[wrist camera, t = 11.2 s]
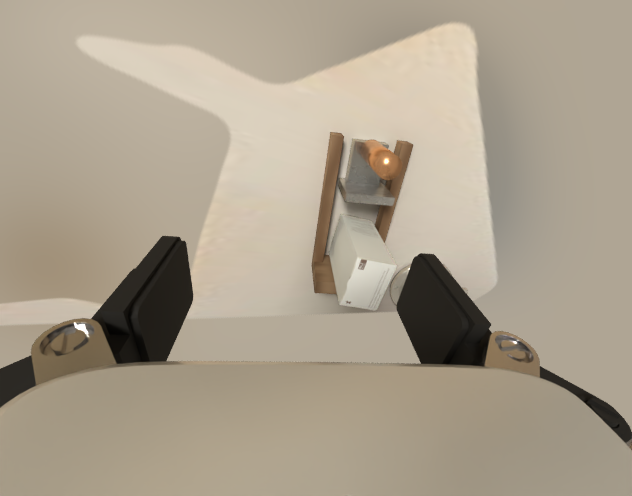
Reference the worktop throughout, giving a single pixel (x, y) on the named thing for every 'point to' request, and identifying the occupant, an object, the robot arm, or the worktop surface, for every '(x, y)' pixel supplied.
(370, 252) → the skincare box
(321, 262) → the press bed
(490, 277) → the worktop surface
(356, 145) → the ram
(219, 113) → the worktop surface
